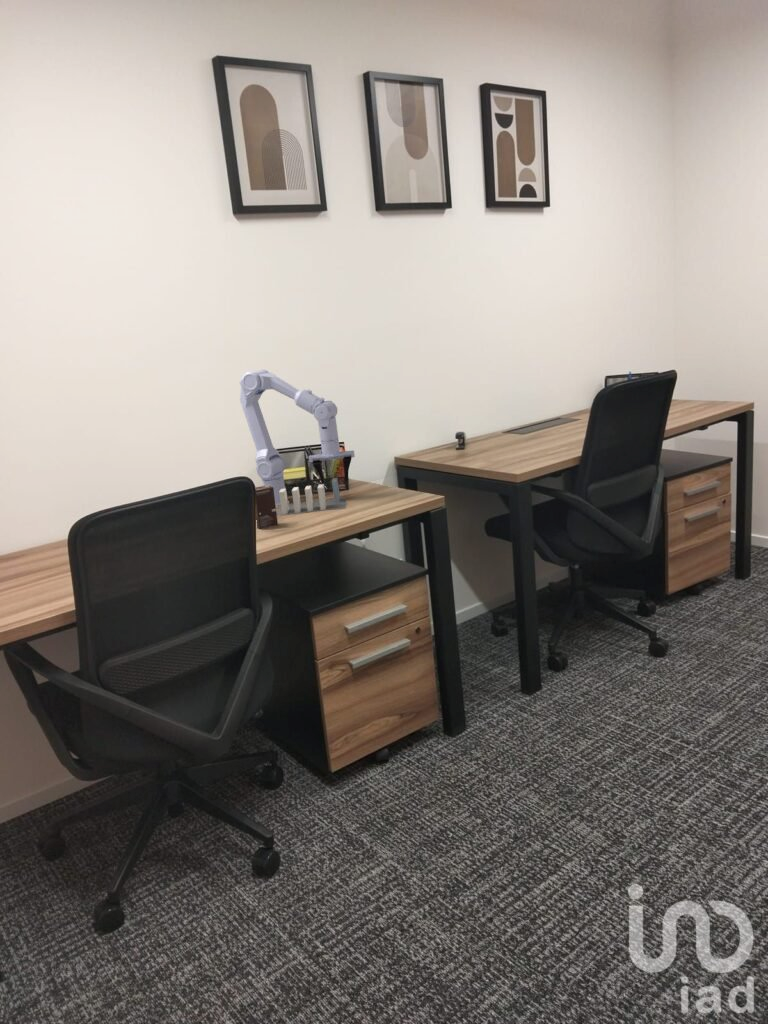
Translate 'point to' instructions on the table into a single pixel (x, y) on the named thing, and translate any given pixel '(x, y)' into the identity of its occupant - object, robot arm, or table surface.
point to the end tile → (336, 490)
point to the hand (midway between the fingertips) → (335, 481)
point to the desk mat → (315, 507)
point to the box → (265, 507)
